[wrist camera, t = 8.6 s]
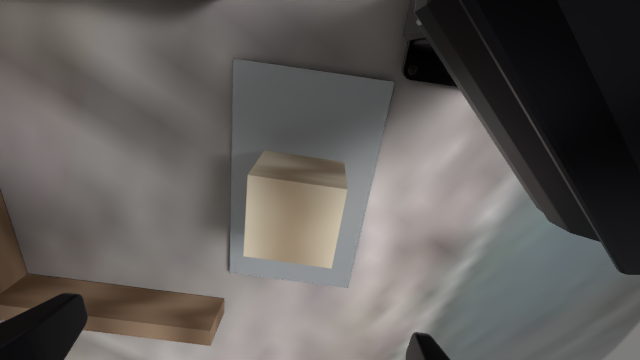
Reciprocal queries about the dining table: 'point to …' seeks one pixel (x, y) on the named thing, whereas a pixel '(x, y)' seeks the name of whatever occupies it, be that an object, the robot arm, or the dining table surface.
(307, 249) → the birch block
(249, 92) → the grey mat
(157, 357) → the dining table surface
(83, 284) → the walnut u-shaped frame
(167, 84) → the dining table surface
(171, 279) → the dining table surface
